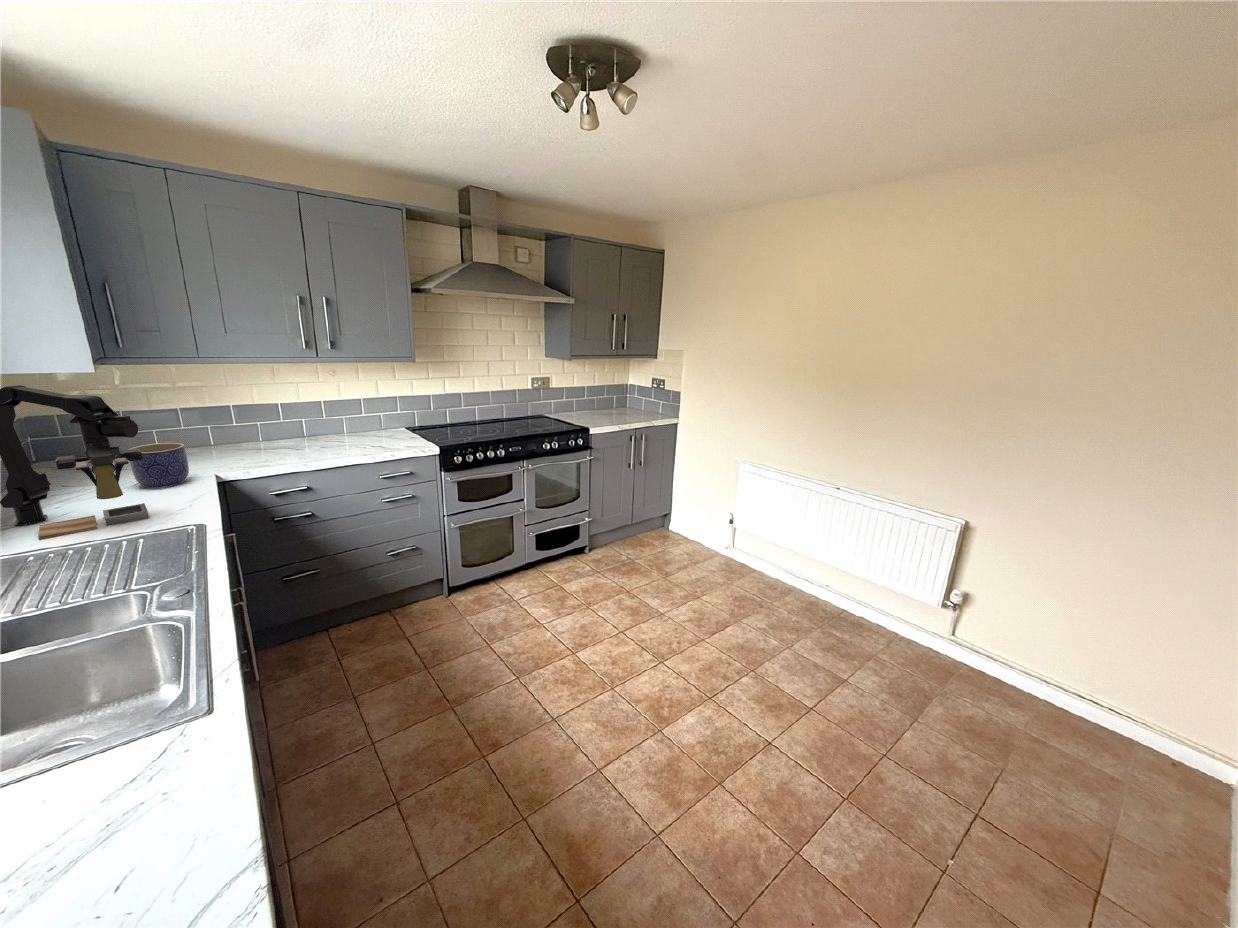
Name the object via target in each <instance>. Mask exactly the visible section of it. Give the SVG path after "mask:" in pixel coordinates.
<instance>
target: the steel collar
mask: <svg viewBox="0 0 1238 928" xmlns="http://www.w3.org/2000/svg"><path fill="white" fill-rule="evenodd" d="M102 512H103V519H104V521H105V526H106V527H111V526H115V525H122V524H127V523H132V522H137V521H141V520H147V519H150V515H149V511H148V508H147V506H146V504H145V502H143V503H138V504H131V505H126V506H121V507H115V508H114V507H113V508H108V509H102Z"/></svg>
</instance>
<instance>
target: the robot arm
mask: <svg viewBox="0 0 1238 928" xmlns="http://www.w3.org/2000/svg"><path fill="white" fill-rule="evenodd" d="M22 402H24V403H29V404H33V405H40V406H43V407H51V408H56V409H60V410H63V412H65V413H67V414H70V415H73V416H74V417H73V418H72V419H71V420H69V424H78V426H79V430H80V433H81V434H80V435H81V439H82V442H83V446H84V450H85V456H83V457H75V455H74V454H73V455H72V454H71V455H64V456H57V457H56V458H55V465H56V468H57V470H66V469H67V470H68V469H69V470H70V469H73V468H74V469H75V470H76V471H82V472H83V473H84V474H86V476H87V477H88V478H89V479H90V481H91V482H92V483H93V484H94V486H95V487H96V486H97V482H96V476H95V474H94V473H93V472H92V470H91V469H92V467H91V466H97V465H100V464H111V463H112V464H113V465H114V466H115V471H114V474H115V477H116V480H117V482H118V483H119V481H120V478H121V474H122V470H123V467H124V466H125V465H128V464H129V461H137V460H143V456H142V452H141V451H140V450H139V449H130V448H129V450H128V449H123V450H122V451H123V452H121V450H120V446H112V444H111V440H110V438H122V439H123V438H126V439H127V438H134V437H136V436H137V434H138V432H139V426H138V424H137V423H136V422H135V421H134V420H133V419H131V416H130V415H123V416H121V415H119V414H118V413H117V412H116V411H114V409H112V407H110V406H109V405H108V404H107V403H106V402H105V400H104V399H103V398H102V397H101V396H98V395H92V394H91V395H89V394H88V395H87V394H78V395H77V394H76V395H75V394H74V395H73V394H65V393H60V392H54V391H49V390H42V389H37V388H33V387H28V386H24V385H21V384H14V385H7V386H3V387H2V388H0V459H1V460H2V462H3V465H4V466H5V469H6V472H7V473H8V475H7V477H6V481H5V487H6V492H7V493H6V494H5V496H4V497H2V499H0V505H1V506H2V508H3V509H11V508H12V510H13V513H14V516H15V521H14V527H19V526H25V525H26V526H27V525H31V524H36V523H37V524H38V523H43V522H44V523H45V522H47V519H48V515H47V514H44V512H43V508H42V505H41V502H40V501H42V500H46V499H47V498H48V492H49V491H51V487H50V486H51V482H49V480H48V476H47V474H46V473H45V472H43V473H40V472H37V471H36V470H34V468H33V467H32V465H31V462H30V461H29V458H28V456H27V454H26V452H25V449H24V447H23V445H22V443H21V440H20V438H19V436H18V433H17V431H16V429H15V428H14V423H15V419H16V416H17V414H16V411H15V408H16V407H17V406H19V405H21V404H22ZM89 463H90V464H89ZM90 465H91V466H90Z"/></svg>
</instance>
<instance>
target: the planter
mask: <svg viewBox="0 0 1238 928" xmlns="http://www.w3.org/2000/svg"><path fill="white" fill-rule="evenodd" d="M129 449H139V450H140V451H141V452H142V456H143V460H137V461H129V460H128V463H129V465H130V469H131V471H132V474H133V477H134V480H135V481H136V482H137V483H138V484H140V485H141V486H142V487H146V488H157V489H158V488H165V487H167V488H168V487H171V486H175V485H178V484H181V483H183V482H184V481H185V480H186V479H187V478H188V476H189V473H190V472H189V471H190V469H189V460H188V455H187V451H186V447H185V444H184V443H181V442H157V443H148V444H141V445H138V446H134V447H131V448H129ZM129 449H127V450H129Z"/></svg>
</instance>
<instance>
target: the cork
mask: <svg viewBox="0 0 1238 928" xmlns="http://www.w3.org/2000/svg"><path fill="white" fill-rule="evenodd" d="M91 470H92V472H93V475H94V476H95V479H96V482H97V486H95V489H96V490H95V491H96V499H97V500H111V499H112V500H113V499H115V498H119V497H122V496H123V495H124V492H123V491H122V487H121V486H120V483H119V482H117V480H116V477H115V465H114V463H111V464H100V465H97V466H93V465H91Z"/></svg>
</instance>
